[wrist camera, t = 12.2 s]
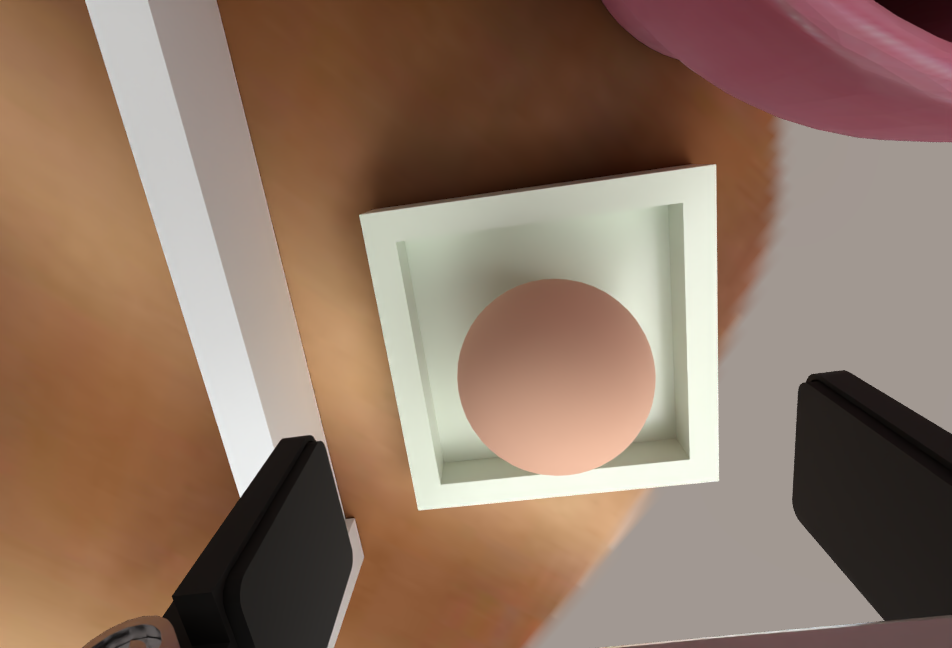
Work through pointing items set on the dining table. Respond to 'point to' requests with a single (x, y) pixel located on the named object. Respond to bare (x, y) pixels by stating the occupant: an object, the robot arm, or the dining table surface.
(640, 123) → the dining table surface
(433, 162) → the dining table surface
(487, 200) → the square tray
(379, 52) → the dining table surface
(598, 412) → the ball
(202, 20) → the rail
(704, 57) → the plant pot
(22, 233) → the dining table surface
